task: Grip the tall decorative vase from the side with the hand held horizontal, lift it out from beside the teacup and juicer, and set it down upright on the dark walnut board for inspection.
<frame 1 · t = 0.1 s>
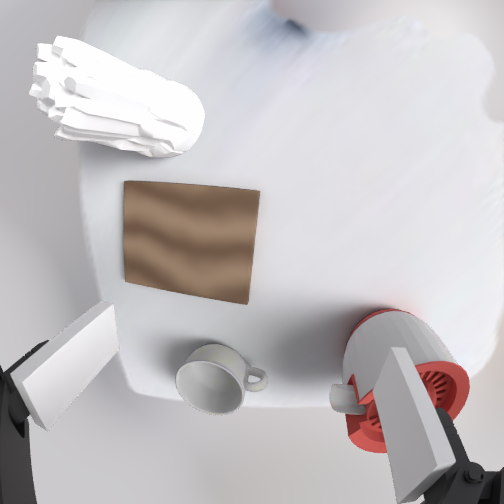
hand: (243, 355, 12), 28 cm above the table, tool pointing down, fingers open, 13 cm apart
teacup: (230, 361, 46), on the table
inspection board: (185, 239, 41), on the table
decorative vase: (169, 121, 37), on the table
citrus juicer: (377, 339, 41), on the table
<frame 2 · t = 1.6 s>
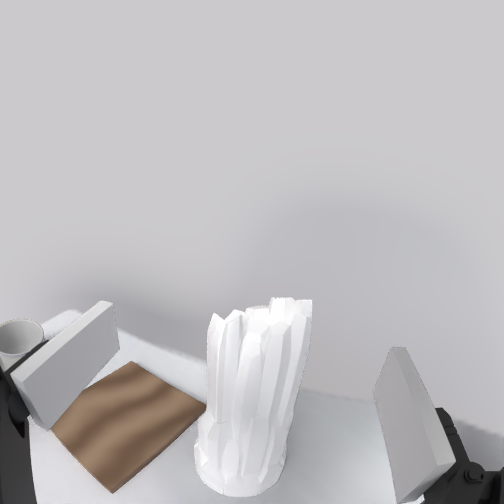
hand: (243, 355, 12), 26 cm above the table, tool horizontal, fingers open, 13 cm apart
teacup: (23, 375, 34), on the table
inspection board: (121, 420, 33), on the table
decorative vase: (239, 464, 29), on the table
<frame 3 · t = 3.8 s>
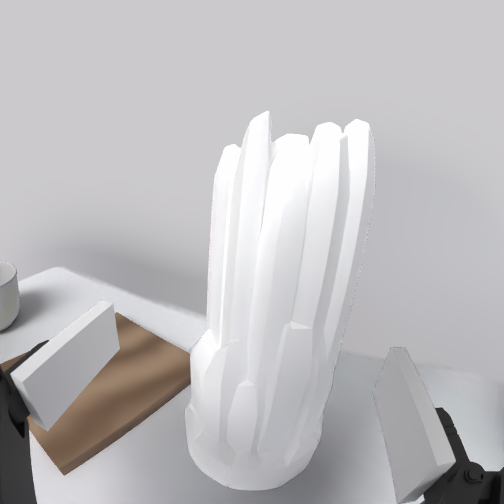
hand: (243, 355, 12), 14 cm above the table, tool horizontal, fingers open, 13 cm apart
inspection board: (93, 378, 25), on the table
decorative vase: (250, 443, 21), on the table
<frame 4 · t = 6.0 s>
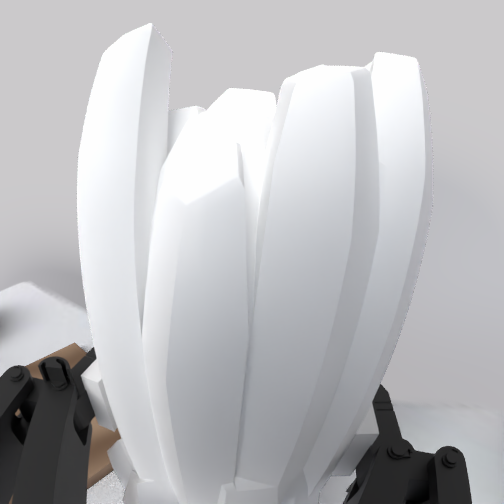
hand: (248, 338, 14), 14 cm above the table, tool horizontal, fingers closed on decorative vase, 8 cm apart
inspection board: (43, 426, 17), on the table
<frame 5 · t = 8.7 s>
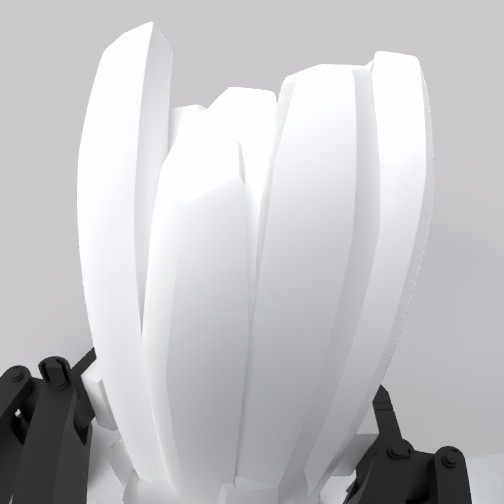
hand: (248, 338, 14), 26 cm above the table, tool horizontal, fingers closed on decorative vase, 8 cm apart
when the fingers open (17 cm above the table, at t = 11.3 s): decorative vase drops 1 cm, resting on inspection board.
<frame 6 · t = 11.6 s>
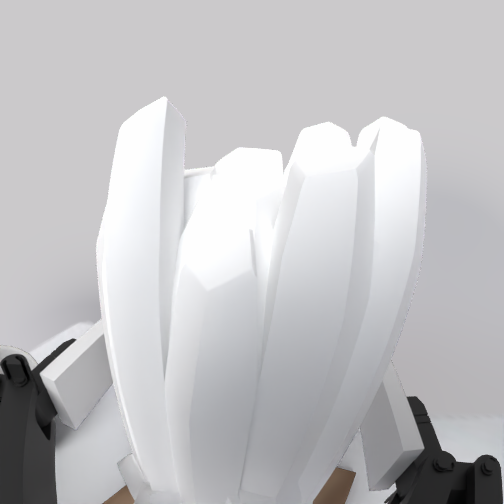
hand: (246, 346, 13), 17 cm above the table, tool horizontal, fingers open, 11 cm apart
teacup: (14, 441, 16), on the table
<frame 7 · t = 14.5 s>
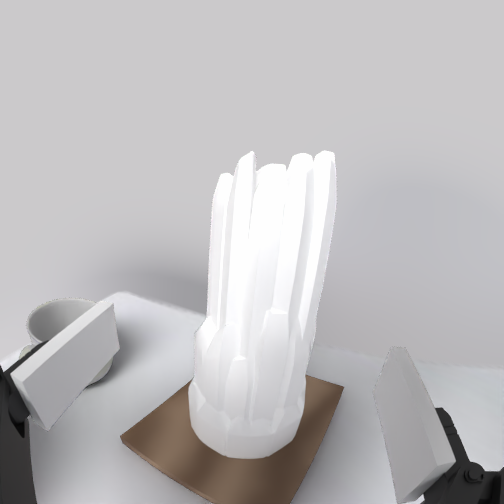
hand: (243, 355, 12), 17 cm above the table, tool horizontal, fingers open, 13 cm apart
teacup: (72, 377, 28), on the table
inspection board: (245, 424, 26), on the table
decorative vase: (244, 419, 26), point 1 cm above the table, touching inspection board
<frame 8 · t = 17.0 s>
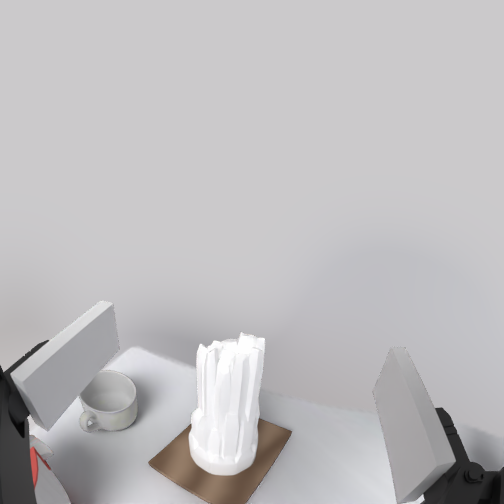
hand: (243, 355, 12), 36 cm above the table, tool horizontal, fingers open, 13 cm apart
teacup: (110, 422, 41), on the table
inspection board: (224, 453, 39), on the table
decorative vase: (223, 451, 39), point 1 cm above the table, touching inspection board
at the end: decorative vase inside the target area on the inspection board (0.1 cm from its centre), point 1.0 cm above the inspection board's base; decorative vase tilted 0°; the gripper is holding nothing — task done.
